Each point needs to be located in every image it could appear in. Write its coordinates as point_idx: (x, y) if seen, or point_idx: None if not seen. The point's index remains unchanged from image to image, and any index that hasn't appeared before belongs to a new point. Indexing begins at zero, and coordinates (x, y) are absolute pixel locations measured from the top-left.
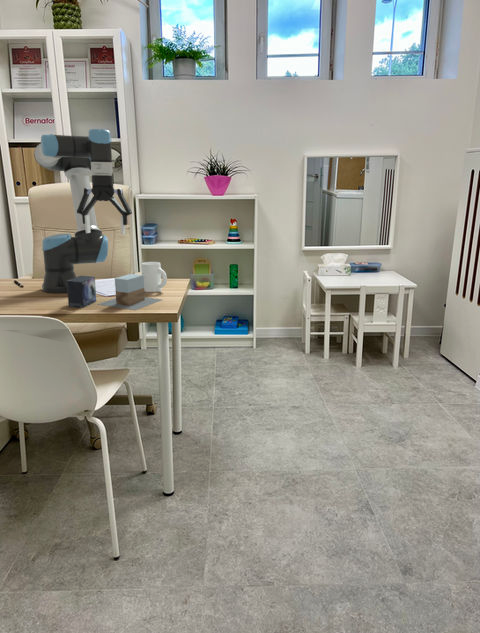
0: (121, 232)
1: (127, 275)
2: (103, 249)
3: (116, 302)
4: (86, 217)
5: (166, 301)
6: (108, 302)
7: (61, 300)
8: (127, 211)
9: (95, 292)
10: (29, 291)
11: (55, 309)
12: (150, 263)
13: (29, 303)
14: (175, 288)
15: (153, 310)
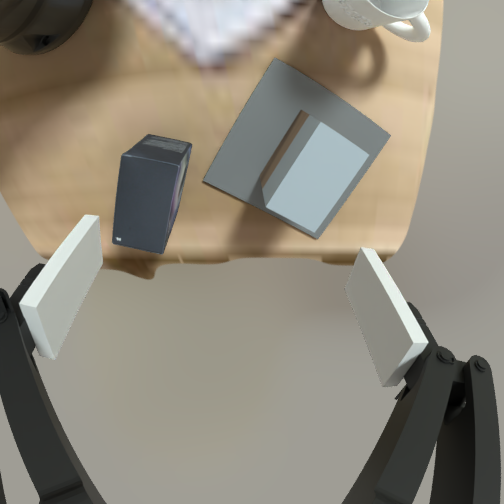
0: (349, 297)
1: (308, 156)
2: None
3: (260, 177)
4: (58, 346)
5: (397, 145)
6: (232, 159)
7: (86, 128)
8: (448, 413)
9: (187, 156)
10: None
11: (110, 219)
12: None
13: (30, 168)
14: None
15: (359, 231)
